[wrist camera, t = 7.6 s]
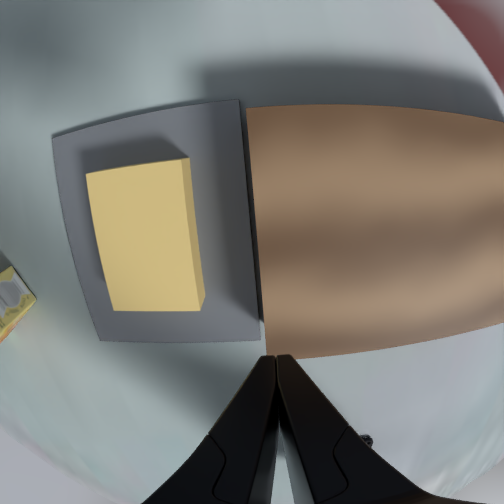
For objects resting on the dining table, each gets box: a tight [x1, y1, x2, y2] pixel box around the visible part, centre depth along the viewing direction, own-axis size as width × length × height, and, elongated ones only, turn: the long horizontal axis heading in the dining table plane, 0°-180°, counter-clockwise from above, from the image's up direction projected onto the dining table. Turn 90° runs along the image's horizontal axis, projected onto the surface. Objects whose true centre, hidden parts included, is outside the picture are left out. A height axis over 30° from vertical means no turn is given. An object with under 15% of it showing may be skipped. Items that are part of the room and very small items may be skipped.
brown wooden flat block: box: [246, 104, 504, 359], centre depth 17 cm, size 14×20×4 cm
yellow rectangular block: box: [86, 158, 205, 311], centre depth 18 cm, size 9×6×2 cm, turn 3°
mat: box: [52, 99, 261, 343], centre depth 20 cm, size 16×13×1 cm
